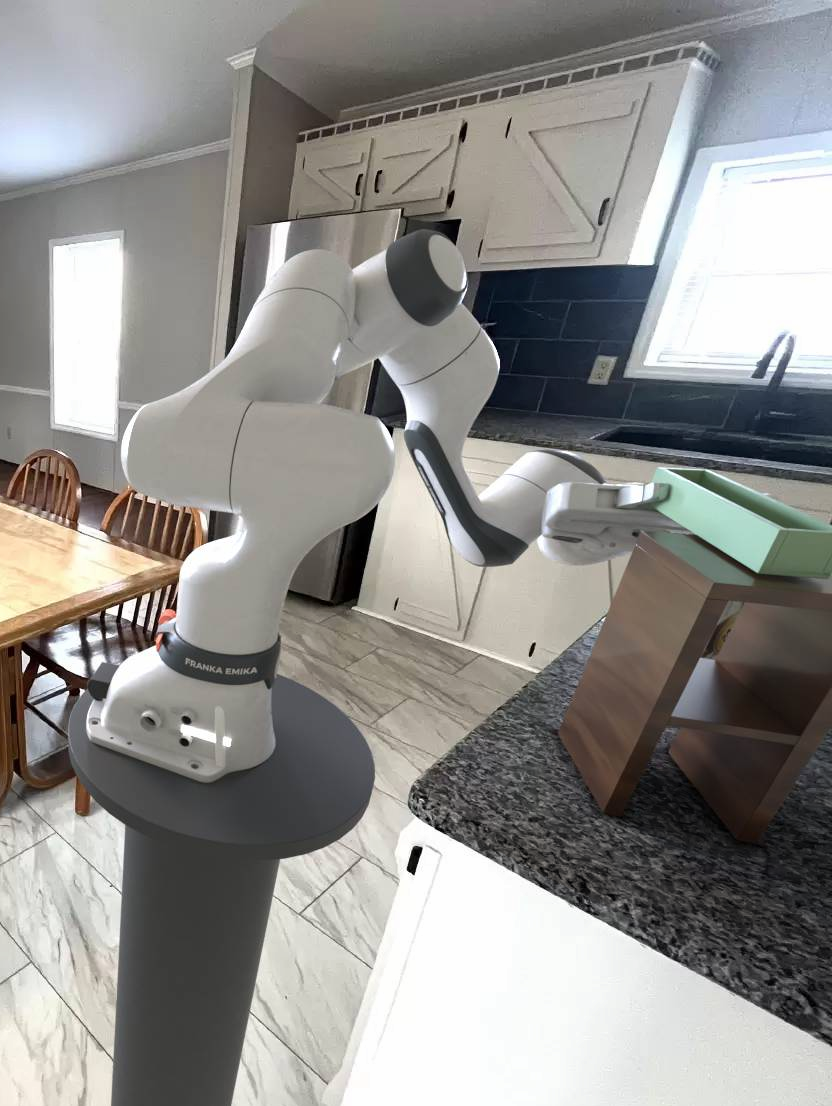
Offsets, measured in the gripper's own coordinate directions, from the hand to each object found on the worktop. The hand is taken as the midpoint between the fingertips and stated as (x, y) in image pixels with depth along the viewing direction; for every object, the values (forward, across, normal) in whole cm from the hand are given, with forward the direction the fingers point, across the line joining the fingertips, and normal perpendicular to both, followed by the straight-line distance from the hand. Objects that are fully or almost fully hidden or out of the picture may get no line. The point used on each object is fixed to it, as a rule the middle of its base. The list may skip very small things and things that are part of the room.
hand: (696, 491), depth 67 cm
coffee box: (-35, -19, -14) cm, 42 cm away
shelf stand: (-3, 0, -32) cm, 32 cm away
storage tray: (+5, 0, -6) cm, 7 cm away
